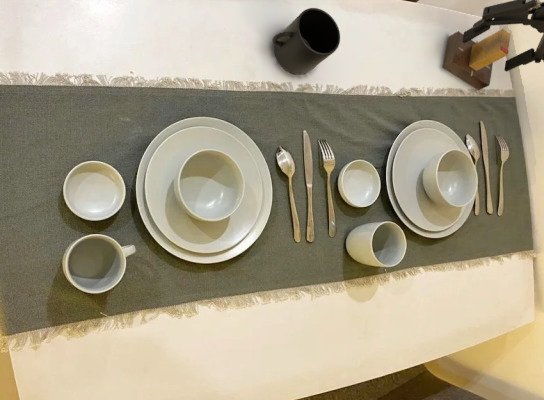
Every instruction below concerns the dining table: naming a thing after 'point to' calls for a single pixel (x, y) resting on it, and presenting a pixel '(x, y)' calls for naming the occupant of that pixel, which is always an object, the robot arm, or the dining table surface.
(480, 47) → the lock knob
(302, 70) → the mug
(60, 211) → the dining table surface
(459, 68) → the plate
